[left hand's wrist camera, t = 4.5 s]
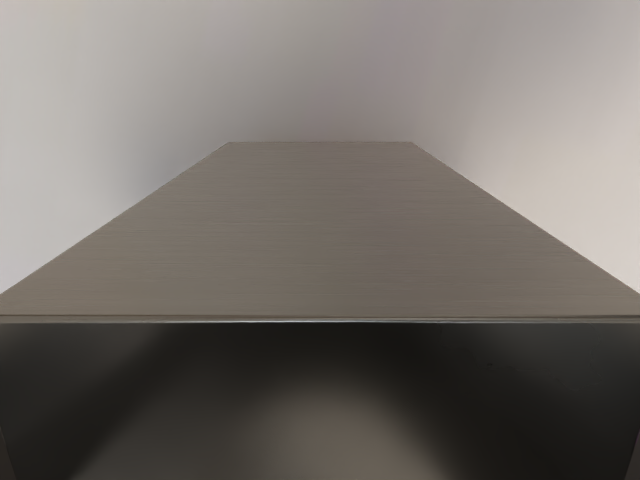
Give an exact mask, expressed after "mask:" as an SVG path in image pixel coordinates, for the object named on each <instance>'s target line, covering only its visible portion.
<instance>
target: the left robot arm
mask: <svg viewBox="0 0 640 480" xmlns="http://www.w3.org/2000/svg"><path fill="white" fill-rule="evenodd" d="M0 480H16V477H15V474H14V471H13V468H12V465H11V462H10V458H9V455H8V452H7V449H6V446H5V443H4V440H3V437H2V434H1V430H0ZM624 480H640V433H639V436H638V439H637V442H636V445H635V448H634V452H633V455H632V458H631V461H630V464H629V467H628V470H627V473H626V476H625V479H624Z"/></svg>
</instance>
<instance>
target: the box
mask: <svg viewBox="0 0 640 480" xmlns="http://www.w3.org/2000/svg"><path fill="white" fill-rule="evenodd" d="M0 430H1V434H2V437H3V440H4V443H5V446H6V449H7V452H8V455H9V458H10V462H11V465H12V468H13V471H14V474H15V477H16V480H624V479H625V476H626V473H627V470H628V467H629V464H630V461H631V458H632V455H633V452H634V448H635V445H636V442H637V439H638V436H639V433H640V294H639V293H638V292H636V291H635V290H633V289H632V288H630V287H629V286H627V285H626V284H624V283H623V282H621V281H620V280H618V279H617V278H615V277H614V276H612V275H611V274H609V273H608V272H606V271H605V270H603V269H602V268H600V267H599V266H597V265H596V264H594V263H593V262H591V261H590V260H588V259H587V258H585V257H584V256H582V255H581V254H579V253H578V252H576V251H575V250H573V249H572V248H570V247H568V246H567V245H565V244H564V243H562V242H561V241H559V240H558V239H556V238H555V237H553V236H552V235H550V234H549V233H547V232H546V231H544V230H543V229H541V228H540V227H538V226H537V225H535V224H534V223H532V222H531V221H529V220H528V219H526V218H525V217H523V216H522V215H520V214H519V213H517V212H516V211H514V210H513V209H511V208H510V207H508V206H507V205H505V204H504V203H502V202H501V201H499V200H498V199H496V198H495V197H493V196H492V195H490V194H489V193H487V192H486V191H484V190H483V189H481V188H480V187H478V186H477V185H475V184H474V183H472V182H471V181H469V180H468V179H466V178H465V177H463V176H462V175H460V174H459V173H457V172H456V171H454V170H453V169H451V168H450V167H448V166H447V165H445V164H444V163H442V162H441V161H439V160H438V159H436V158H435V157H433V156H432V155H430V154H429V153H427V152H426V151H424V150H423V149H421V148H420V147H418V146H417V145H415V144H414V143H412V142H228V143H227V144H225V145H224V146H222V147H221V148H219V149H218V150H216V151H215V152H213V153H212V154H210V155H209V156H207V157H206V158H204V159H203V160H201V161H200V162H198V163H197V164H195V165H194V166H192V167H191V168H189V169H188V170H186V171H185V172H183V173H182V174H180V175H179V176H177V177H176V178H174V179H173V180H171V181H170V182H168V183H167V184H165V185H164V186H162V187H161V188H159V189H158V190H156V191H155V192H153V193H152V194H150V195H149V196H147V197H146V198H144V199H143V200H141V201H140V202H138V203H137V204H135V205H134V206H132V207H131V208H129V209H128V210H126V211H125V212H123V213H122V214H120V215H119V216H117V217H116V218H114V219H113V220H111V221H110V222H108V223H107V224H105V225H104V226H102V227H101V228H99V229H98V230H96V231H95V232H93V233H92V234H90V235H89V236H87V237H86V238H84V239H83V240H81V241H80V242H78V243H77V244H75V245H74V246H72V247H71V248H69V249H68V250H66V251H65V252H63V253H62V254H60V255H59V256H57V257H56V258H54V259H53V260H51V261H50V262H48V263H47V264H45V265H44V266H42V267H41V268H39V269H38V270H36V271H35V272H33V273H32V274H30V275H29V276H27V277H26V278H24V279H23V280H21V281H20V282H18V283H17V284H15V285H14V286H12V287H11V288H9V289H8V290H6V291H5V292H3V293H2V294H0Z"/></svg>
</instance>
